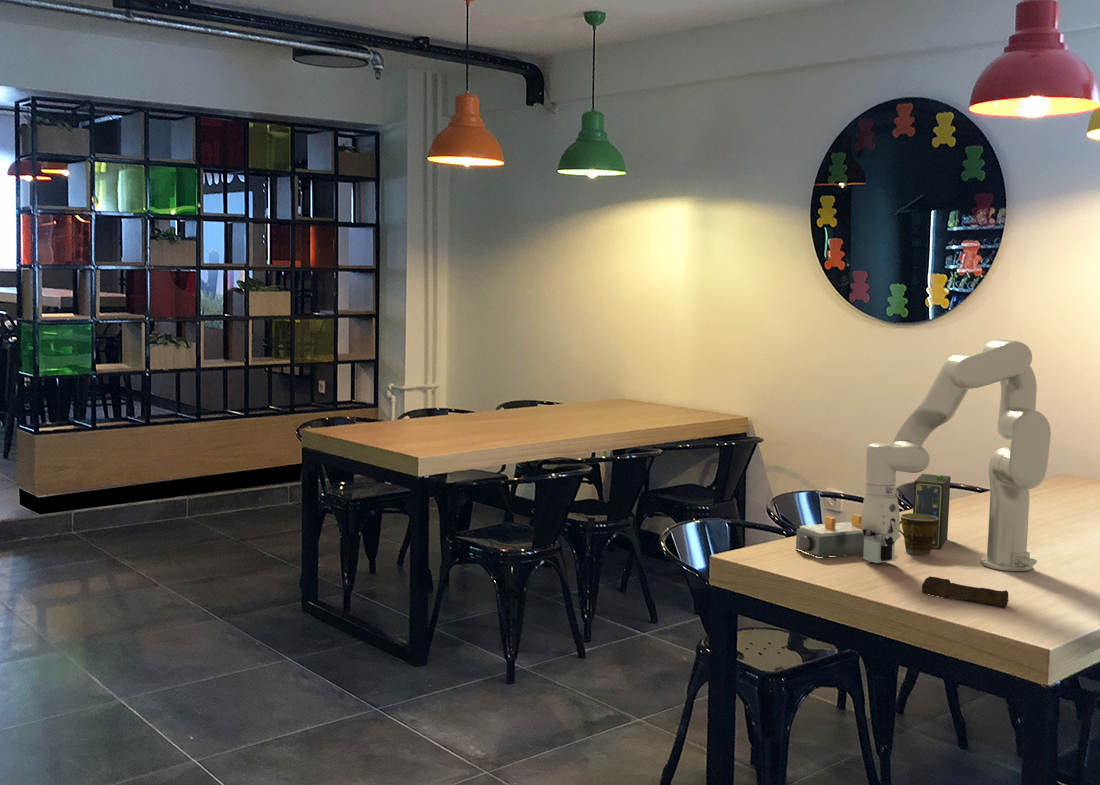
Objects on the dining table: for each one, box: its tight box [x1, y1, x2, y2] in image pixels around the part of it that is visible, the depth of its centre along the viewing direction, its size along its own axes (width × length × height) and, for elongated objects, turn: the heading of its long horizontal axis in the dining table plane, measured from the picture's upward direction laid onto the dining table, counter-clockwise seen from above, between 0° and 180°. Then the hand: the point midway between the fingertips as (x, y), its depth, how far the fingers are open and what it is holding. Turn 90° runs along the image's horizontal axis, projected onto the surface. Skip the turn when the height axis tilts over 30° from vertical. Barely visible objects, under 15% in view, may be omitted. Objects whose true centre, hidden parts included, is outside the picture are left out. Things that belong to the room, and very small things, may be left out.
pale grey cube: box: [863, 535, 896, 564], centre depth 273 cm, size 5×6×6 cm
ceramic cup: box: [899, 512, 939, 556], centre depth 285 cm, size 13×10×10 cm
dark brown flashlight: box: [921, 576, 1009, 609], centre depth 239 cm, size 19×4×5 cm, turn 53°
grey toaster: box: [795, 513, 881, 557], centre depth 285 cm, size 10×25×10 cm, turn 112°
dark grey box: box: [912, 473, 951, 551], centre depth 297 cm, size 8×18×20 cm, turn 152°
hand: (878, 557), depth 273 cm, fingers closed on pale grey cube, 5 cm apart
